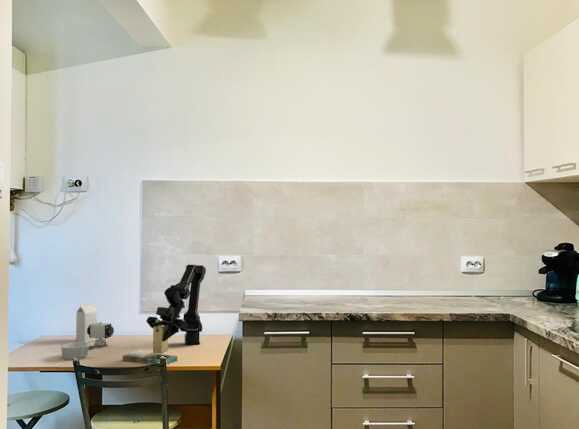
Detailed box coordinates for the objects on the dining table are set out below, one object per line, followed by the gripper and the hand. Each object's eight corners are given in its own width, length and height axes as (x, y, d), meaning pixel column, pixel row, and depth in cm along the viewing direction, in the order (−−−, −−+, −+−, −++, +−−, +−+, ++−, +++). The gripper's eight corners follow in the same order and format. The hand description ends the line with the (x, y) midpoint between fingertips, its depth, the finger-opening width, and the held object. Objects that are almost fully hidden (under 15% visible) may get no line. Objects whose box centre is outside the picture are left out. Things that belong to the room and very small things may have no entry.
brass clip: (159, 350, 212) (159, 324, 212) (167, 351, 210) (168, 325, 210) (153, 352, 208) (153, 326, 208) (161, 353, 206) (161, 327, 206)
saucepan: (102, 360, 211) (102, 347, 211) (56, 361, 210) (56, 348, 211) (111, 353, 222) (111, 341, 223) (67, 354, 222) (67, 341, 222)
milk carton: (97, 340, 248) (97, 303, 248) (84, 343, 242) (85, 305, 242) (88, 339, 251) (88, 302, 252) (75, 341, 245) (76, 304, 246)
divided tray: (177, 360, 211) (177, 353, 211) (164, 366, 202) (164, 358, 202) (136, 355, 219) (136, 348, 219) (122, 360, 211) (122, 353, 211)
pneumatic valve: (108, 348, 231) (108, 323, 232) (86, 347, 234) (86, 322, 234) (114, 345, 237) (115, 321, 237) (93, 344, 239) (93, 320, 239)
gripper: (148, 298, 216) (132, 328, 206) (184, 300, 209) (168, 331, 199) (159, 313, 224) (144, 342, 213) (194, 315, 217) (179, 346, 206)
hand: (158, 340), depth 208 cm, fingers closed on brass clip, 4 cm apart
